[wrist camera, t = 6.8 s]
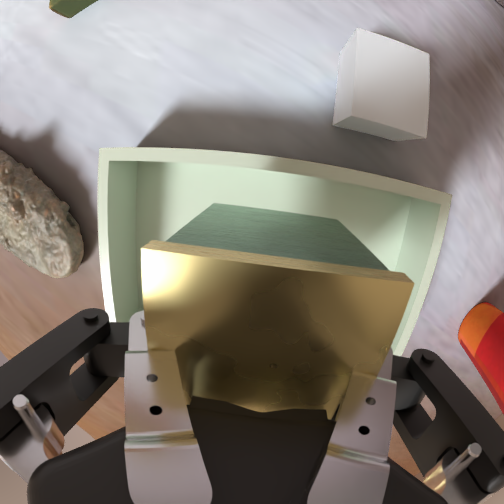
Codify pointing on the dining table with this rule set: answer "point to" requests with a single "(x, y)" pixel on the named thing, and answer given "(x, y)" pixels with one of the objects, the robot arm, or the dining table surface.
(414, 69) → the white block
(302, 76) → the dining table surface
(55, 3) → the carton
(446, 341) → the dining table surface
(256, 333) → the tea tin
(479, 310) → the paper cup
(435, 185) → the dining table surface
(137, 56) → the dining table surface
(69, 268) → the long grey stone
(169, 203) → the tote
